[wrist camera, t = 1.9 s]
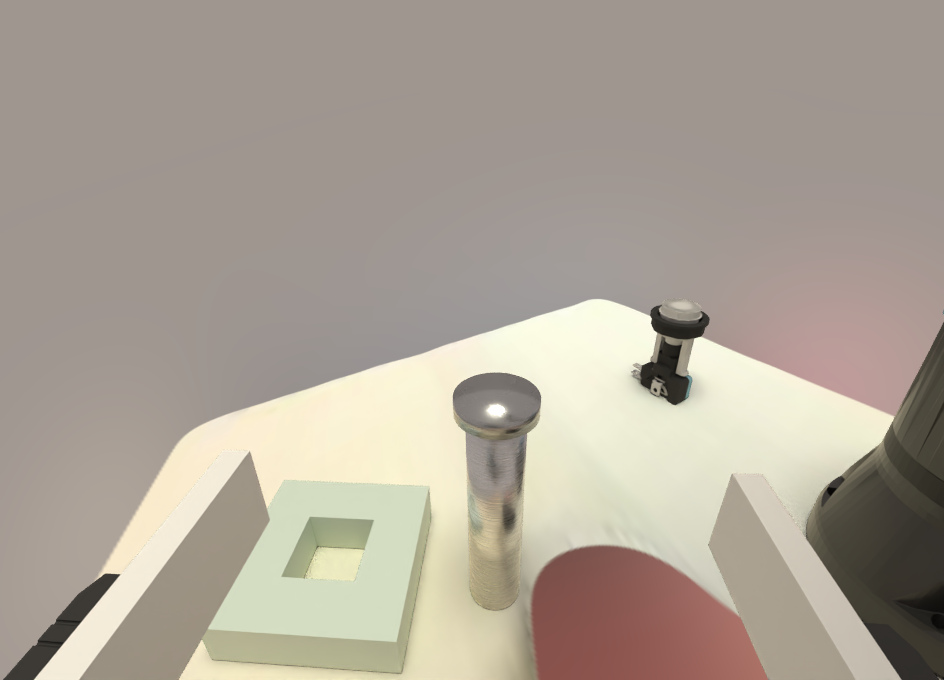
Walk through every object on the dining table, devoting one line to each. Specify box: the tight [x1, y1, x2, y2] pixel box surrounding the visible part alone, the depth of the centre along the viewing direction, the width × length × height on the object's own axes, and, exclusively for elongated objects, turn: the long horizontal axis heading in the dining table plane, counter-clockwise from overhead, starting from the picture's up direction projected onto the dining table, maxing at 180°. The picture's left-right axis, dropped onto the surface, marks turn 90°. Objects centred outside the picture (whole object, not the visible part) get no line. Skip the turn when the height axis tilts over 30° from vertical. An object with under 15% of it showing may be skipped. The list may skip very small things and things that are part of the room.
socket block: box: [202, 480, 431, 673], centre depth 30 cm, size 11×11×3 cm
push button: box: [632, 299, 709, 404], centre depth 48 cm, size 7×5×10 cm
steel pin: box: [453, 373, 541, 610], centre depth 27 cm, size 4×4×15 cm
